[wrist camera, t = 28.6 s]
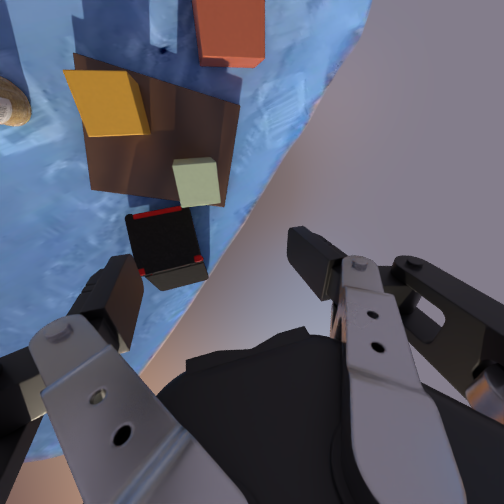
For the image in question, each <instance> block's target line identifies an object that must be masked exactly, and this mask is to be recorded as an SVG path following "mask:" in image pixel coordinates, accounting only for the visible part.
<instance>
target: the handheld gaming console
mask: <svg viewBox="0 0 504 504" xmlns="http://www.w3.org/2000/svg"><path fill="white" fill-rule="evenodd" d="M125 222H126V226H127V231H128V235H129V240H130V244H131V249H132V253H133V257H134V261H135V263H136V266H137V268H138V271H139V273H140V276H145V277H146V278H147V279H148V280H149V281H150V282H151V283H152V284H153V285H155V286H156V287H157V288H158V289H159V290H160V291H166V290H170V289H174V288H177V287H181V286H185V285H189V284H193V283H196V282H200V281H204V280H207V279H208V278H209V277H208V273H207V270H206V267H205V265H204V262H203V257H202V256H201V253H200V249H199V245H198V240H197V236H196V232H195V228H194V224H193V220H192V216H191V212H190V209H189V207H184V208H182V207H181V206H176V207H171V208H165V209H160V210H155V211H149V212H144V213H139V214H134V215H132V214H128V215H126V216H125Z"/></svg>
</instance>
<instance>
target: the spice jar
mask: <svg viewBox="0 0 504 504" xmlns="http://www.w3.org/2000/svg"><path fill="white" fill-rule="evenodd" d="M31 114H32V113H31V106H30V104H29V101H28V99H27V97H26V96H25V94H24V93H23V92H22V91H21V90H20V89H19V88H18V87H17V86H15V85H14V84H13V83H12V82H10V81H9V80H7V79H5V78H3V77H0V124H5V125H9V126H21V125H23V124H26V123H27V122H28V121H29V120H30V117H31Z"/></svg>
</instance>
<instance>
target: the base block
mask: <svg viewBox="0 0 504 504" xmlns="http://www.w3.org/2000/svg"><path fill="white" fill-rule="evenodd" d="M192 7H193V15H194V22H195V30H196V38H197V46H198V54H199V62H200V66H209V67H243V68H255V67H256V66H257V65H258V64H259V63H260V62H262V61H263V60H264V59H265V0H192Z"/></svg>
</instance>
